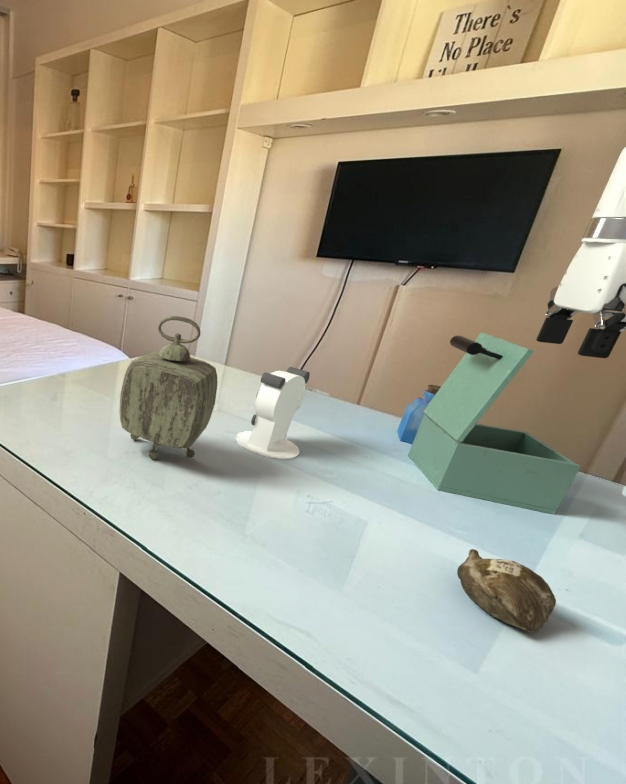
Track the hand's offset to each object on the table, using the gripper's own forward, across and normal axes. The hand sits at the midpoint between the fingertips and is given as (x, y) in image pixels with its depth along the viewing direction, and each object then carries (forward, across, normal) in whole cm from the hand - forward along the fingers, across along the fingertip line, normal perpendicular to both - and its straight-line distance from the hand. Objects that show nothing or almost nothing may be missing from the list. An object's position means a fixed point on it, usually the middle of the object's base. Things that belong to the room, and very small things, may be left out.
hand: (569, 349), depth 71 cm
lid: (+8, 0, +10) cm, 12 cm away
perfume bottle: (+25, +17, +7) cm, 31 cm away
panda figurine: (+25, -2, +38) cm, 46 cm away
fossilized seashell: (+25, -36, +17) cm, 47 cm away
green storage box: (+25, 0, +4) cm, 25 cm away
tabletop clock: (+24, -17, +58) cm, 65 cm away
